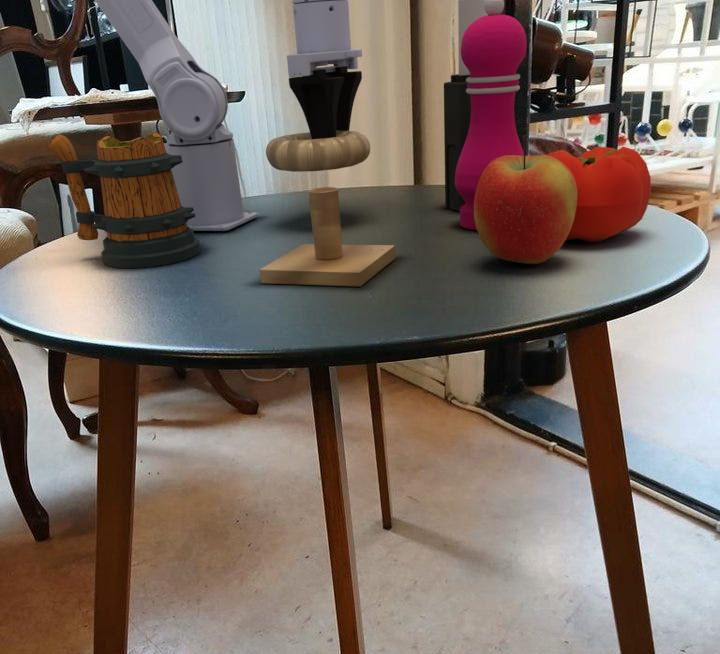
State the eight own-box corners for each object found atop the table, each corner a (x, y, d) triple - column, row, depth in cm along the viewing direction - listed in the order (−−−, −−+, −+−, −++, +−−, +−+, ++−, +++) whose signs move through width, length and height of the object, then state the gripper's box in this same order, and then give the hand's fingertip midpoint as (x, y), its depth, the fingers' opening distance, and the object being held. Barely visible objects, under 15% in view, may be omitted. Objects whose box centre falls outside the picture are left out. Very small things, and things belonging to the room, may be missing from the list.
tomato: (530, 252, 67) (534, 161, 64) (524, 226, 77) (527, 145, 73) (657, 248, 66) (668, 154, 62) (635, 221, 75) (644, 138, 72)
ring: (250, 174, 80) (246, 143, 79) (294, 159, 89) (291, 131, 88) (348, 172, 77) (346, 140, 75) (383, 157, 86) (382, 127, 84)
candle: (441, 207, 88) (437, -56, 76) (479, 200, 90) (481, -58, 78) (464, 213, 84) (464, -64, 72) (504, 206, 86) (510, -65, 74)
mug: (215, 241, 80) (196, 120, 75) (185, 266, 72) (161, 131, 66) (98, 247, 82) (70, 129, 76) (54, 272, 73) (20, 141, 68)
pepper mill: (540, 225, 77) (551, -12, 67) (476, 235, 75) (478, -8, 65) (503, 214, 83) (508, -5, 73) (442, 223, 81) (439, -1, 71)
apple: (585, 254, 66) (595, 126, 61) (555, 279, 60) (562, 139, 55) (496, 249, 70) (498, 128, 65) (459, 271, 64) (459, 140, 59)
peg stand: (260, 283, 65) (249, 200, 61) (304, 256, 72) (296, 181, 69) (360, 287, 62) (354, 199, 58) (395, 258, 69) (392, 179, 66)
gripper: (329, -3, 72) (340, 154, 78) (380, 1, 83) (386, 137, 90) (262, 4, 74) (278, 156, 81) (320, 6, 86) (330, 139, 92)
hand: (331, 146), depth 85 cm, fingers closed on ring, 3 cm apart
